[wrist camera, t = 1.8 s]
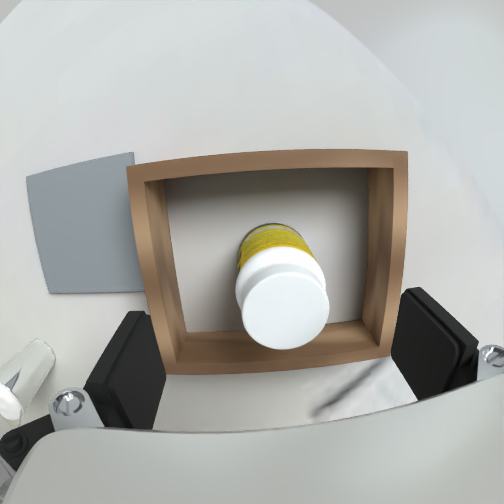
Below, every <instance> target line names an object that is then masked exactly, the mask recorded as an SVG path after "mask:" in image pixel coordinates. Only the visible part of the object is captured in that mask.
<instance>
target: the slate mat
mask: <svg viewBox="0 0 504 504" xmlns="http://www.w3.org/2000/svg"><path fill="white" fill-rule="evenodd" d="M132 165H135V162H134V152H129V153H124V154H118V155H113V156H108V157H103V158H98V159H94V160H89V161H85V162H80V163H76V164H72V165H68V166H64V167H60V168H56V169H52V170H48V171H45V172H41V173H38V174H34V175H31V176H27V177H26V183H27V191H28V199H29V205H30V212H31V218H32V223H33V229H34V234H35V239H36V244H37V248H38V253H39V257H40V261H41V265H42V269H43V273H44V277H45V280H46V284H47V287H48V291H49V293H92V292H131V291H145V288H144V283H143V278H142V273H141V268H140V263H139V257H138V252H137V246H136V240H135V234H134V227H133V221H132V214H131V207H130V199H129V191H128V182H127V173H126V166H132Z"/></svg>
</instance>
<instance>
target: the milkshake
mask: <svg viewBox="0 0 504 504" xmlns="http://www.w3.org/2000/svg"><path fill="white" fill-rule="evenodd" d="M54 362H55V356H54V353H53V351H52V349H51V348H50V347H49V346H48V345H47V344H46V343H45V342H44V341H41V340H39V339H36V340H33V341H31V342H30V343H29V344H28V345H27V346H25V347H24V348H23V349H22V350H21V351H20V352H18V353H17V354H16V355H15V356H14V357H13V358H12V359H10V360H9V361H8V362H7V363H6V364H5V365H3V366H2V367H1V368H0V414H1V415H2V416H3V417H4V418H6V419H8V420H19V424H18V427H20V426H21V419H22V418H23V416H24V414H25V412H26V410H27V408H28V406H29V405H30V403H31V401H32V399H33V397H34V395H35V394H36V392H37V390H38V389H39V387H40V385H41V384H42V382H43V381H44V379H45V377H46V376H47V374H48V373H49V371H50V369H51V368H52V366H53V365H54Z"/></svg>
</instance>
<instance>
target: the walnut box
mask: <svg viewBox="0 0 504 504" xmlns="http://www.w3.org/2000/svg"><path fill="white" fill-rule="evenodd" d="M326 167H368V175H369V220H368V249H367V267H366V281H365V294H364V304H363V314H362V320H355V321H347V322H338V323H329V324H325V326H324V328H323V329H322V331H321V332H320V333H319V334H318V335H317V336H316V337H315V338H314V339H312V340H311V341H309V342H308V343H306V344H304V345H302V346H300V347H296V348H292V349H273V348H269V347H266V346H264V345H261V344H260V343H258V342H257V341H255V340H254V339H253V338H252V337H251V336H250V335H249V334H248V332H247V331H226V332H199V333H187V332H186V327H185V322H184V317H183V311H182V306H181V300H180V295H179V289H178V283H177V277H176V271H175V264H174V258H173V251H172V244H171V237H170V230H169V222H168V214H167V206H166V197H165V188H164V179H168V178H177V177H186V176H195V175H205V174H216V173H227V172H240V171H254V170H271V169H292V168H326ZM126 173H127V182H128V191H129V199H130V207H131V214H132V221H133V227H134V234H135V240H136V246H137V252H138V257H139V263H140V268H141V273H142V278H143V283H144V288H145V293H146V297H147V302H148V306H149V311H150V315H151V319H152V323H153V328H154V332H155V336H156V339H157V343H158V347H159V350H160V354H161V357H162V361H163V364H164V367H165V371H166V374H186V375H201V374H240V373H259V372H273V371H286V370H296V369H306V368H315V367H323V366H331V365H339V364H346V363H352V362H359V361H365V360H371V359H376V358H382V357H387V356H390V351H391V346H392V341H393V336H394V331H395V325H396V319H397V313H398V307H399V300H400V293H401V285H402V277H403V268H404V257H405V246H406V231H407V211H408V151H390V150H363V149H304V150H276V151H257V152H242V153H229V154H218V155H208V156H198V157H189V158H181V159H173V160H165V161H158V162H151V163H145V164H138V165H132V166H126Z"/></svg>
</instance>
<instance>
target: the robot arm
mask: <svg viewBox="0 0 504 504" xmlns="http://www.w3.org/2000/svg"><path fill="white" fill-rule="evenodd" d="M478 343H479V341H478V340H477V339H476V338H475V337H474V336H473V335H472V334H471V333H470V332H469V331H468V330H467V329H465V328H464V327H463V326H462V325H461V324H460V323H459V322H458V321H457V320H456V319H455V318H454V317H453V316H452V315H451V314H450V313H449V312H447V311H446V310H445V309H444V308H443V307H442V306H441V305H440V304H439V303H438V302H437V301H435V300H434V299H433V298H432V297H431V296H430V295H429V294H428V293H426V292H425V291H424V290H423V289H422V288H420V287H415V288H409V289H406V290H405V292H404V293H402V295H401V298H400V304H399V310H398V316H397V322H396V327H395V332H394V337H393V342H392V347H391V357H392V359H393V361H394V362H395V364H396V365H397V367H398V369H399V370H400V372H401V373H402V375H403V376H404V378H405V380H406V381H407V383H408V385H409V386H410V388H411V389H412V391H413V393H414V394H415V396H416V398H417V399H418V401H416V402H412V403H409V404H405V405H402V406H398V407H394V408H390V409H386V410H382V411H378V412H373V413H369V414H364V415H360V416H355V417H350V418H345V419H339V420H333V421H327V422H321V423H315V424H308V425H300V426H292V427H282V428H272V429H260V430H244V431H216V432H192V431H161V430H152V428H153V424H154V421H155V417H156V413H157V410H158V406H159V402H160V399H161V395H162V392H163V388H164V385H165V381H166V371H165V367H164V364H163V361H162V357H161V354H160V350H159V347H158V343H157V339H156V336H155V332H154V328H153V324H152V320H151V317H150V315H146V313H145V312H144V311H129V312H128V313H127V315H126V316H125V318H124V319H123V321H122V322H121V324H120V326H119V327H118V329H117V330H116V332H115V334H114V335H113V337H112V339H111V340H110V342H109V344H108V345H107V347H106V349H105V350H104V352H103V354H102V355H101V357H100V359H99V360H98V362H97V364H96V365H95V367H94V369H93V371H92V372H91V374H90V376H89V378H88V379H87V381H86V384H85V386H84V388H83V389H81V388H76V387H74V388H67V389H63V390H61V391H59V392H58V393H57V394H55V395H54V396H53V398H52V399H51V400H50V403H49V412H50V414H48V415H46V416H44V417H41V418H39V419H37V420H34V421H32V422H30V423H27V424H25V425H23V426H20V427H18V428H16V429H13V430H11V431H9V432H7V433H6V434H5V435H4V436H3V437H2V438H1V440H0V504H504V348H503V347H501V346H497V345H486V346H484V347H482V348H481V349H480V351H479V350H478V349H477V346H478Z"/></svg>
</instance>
